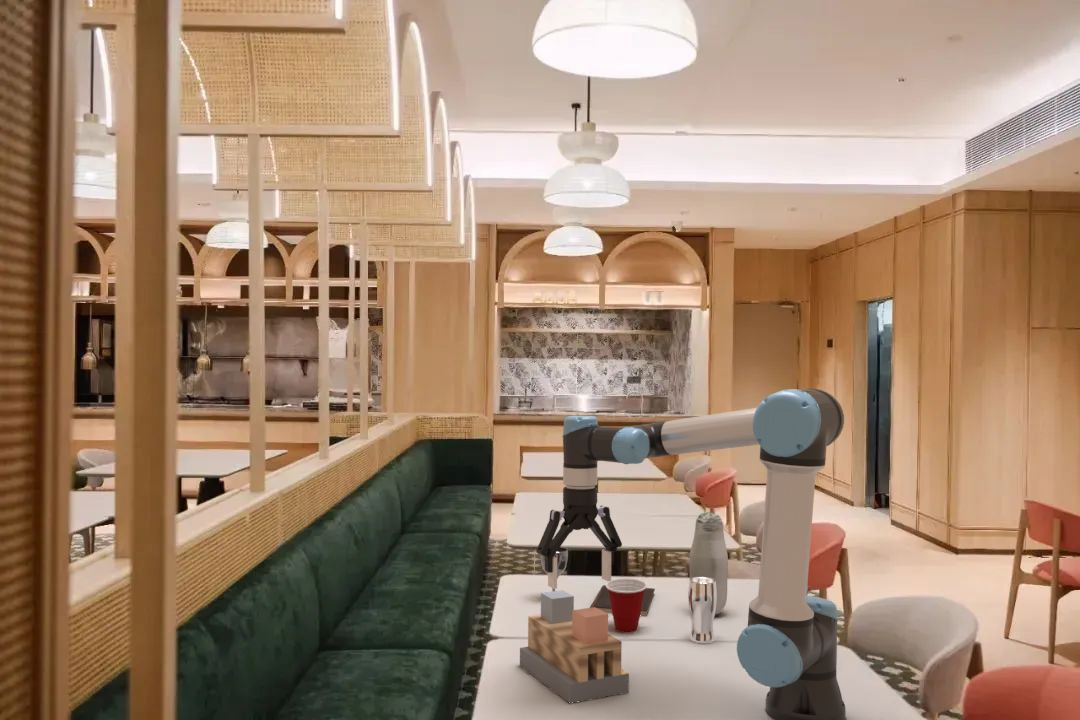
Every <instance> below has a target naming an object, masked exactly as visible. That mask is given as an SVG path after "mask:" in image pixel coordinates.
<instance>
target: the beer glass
mask: <svg viewBox="0 0 1080 720" xmlns="http://www.w3.org/2000/svg"><path fill="white" fill-rule="evenodd" d="M687 597H688V606H689V607H688V608H689V613H690V620H691V626H690V627H691V629H690V633H689V634H690V635H689V640H690V641H691V642H693V643H695V644H702V645H703V644H704V645H705V644H706V645H707V644H708V645H709V644H712V643H714V642H715V634H714V620H715V616H716V615H715V610H716V603H717V589H716V580H715V579H713V578H709V577H692V578H690V577H689V582H688V596H687Z"/></svg>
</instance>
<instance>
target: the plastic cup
mask: <svg viewBox="0 0 1080 720" xmlns="http://www.w3.org/2000/svg"><path fill="white" fill-rule="evenodd" d="M604 585H606V588H607V589H608V592H609V596H610V602H611V609H612V614H611V615H612V619H613V625H614V626H613V627H614V628H615V630H616V631H617V630H618V631H617V632H621V633H626V632H627V633H634V631H635V632H636V630H638V628H639V622H640V618H641V616H640V614H641V608H642V602H643V597H644V593H645V589H646V588H648V584H647V582H646V581H644V580H642V579H638V578H631V577H629V578H628V577H621V578H620V577H619V578H614V579H611V581H606V583H605V584H604Z"/></svg>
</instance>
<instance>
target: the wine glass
mask: <svg viewBox="0 0 1080 720" xmlns="http://www.w3.org/2000/svg"><path fill="white" fill-rule="evenodd" d="M539 555H540V554H539ZM554 557H556V558H557V580H558V579H559V577H560V576H561V575H562V574H563V572H564V571H565V570H566V568H567V563H568V559H569V558H568V557H569V549H568V547H566V546H565V547H564V546H562V545H561V546H560V548H559V549H558V551H557V552H556V554H555V555H554ZM540 564H541V567H542V569H543V571H544V572H545V573H546V575H547V576H548V572H546V571H545V557H544V556H543V555H540ZM553 591H556V588H555V589H554V588H552V587H551V592H553Z"/></svg>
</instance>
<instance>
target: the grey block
mask: <svg viewBox="0 0 1080 720" xmlns="http://www.w3.org/2000/svg"><path fill="white" fill-rule="evenodd" d="M574 598H575V596H574V595H572V594H570V593H568V592H566V591H565V590H561V589H560V590H555V591H553V592H552V591H548V592H541V593H540V614H541V618H543V619H545V620H546V621H548V622H550V623H551V624H554V623H561V622H568V621H572V614H573V610H575V609H574V608H575V604H574V603H575V599H574Z"/></svg>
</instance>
